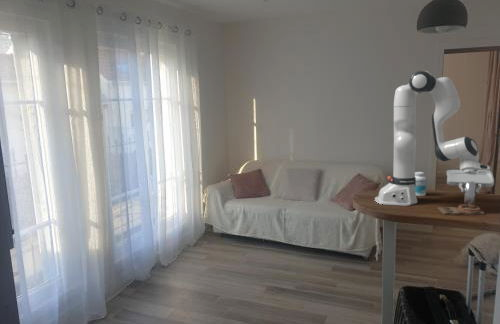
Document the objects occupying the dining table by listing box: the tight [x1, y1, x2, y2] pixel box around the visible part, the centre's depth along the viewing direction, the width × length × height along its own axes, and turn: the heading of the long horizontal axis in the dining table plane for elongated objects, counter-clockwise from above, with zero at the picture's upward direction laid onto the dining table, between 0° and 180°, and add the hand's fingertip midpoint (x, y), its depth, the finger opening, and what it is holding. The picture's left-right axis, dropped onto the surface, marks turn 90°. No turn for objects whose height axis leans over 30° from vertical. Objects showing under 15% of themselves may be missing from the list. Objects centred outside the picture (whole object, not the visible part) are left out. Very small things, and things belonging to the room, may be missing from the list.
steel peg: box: [463, 181, 477, 206], centre depth 181 cm, size 4×4×11 cm
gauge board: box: [437, 203, 485, 216], centre depth 183 cm, size 18×10×2 cm, turn 81°
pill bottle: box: [415, 171, 427, 197], centre depth 217 cm, size 8×7×14 cm
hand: (470, 192), depth 180 cm, fingers closed on steel peg, 4 cm apart
